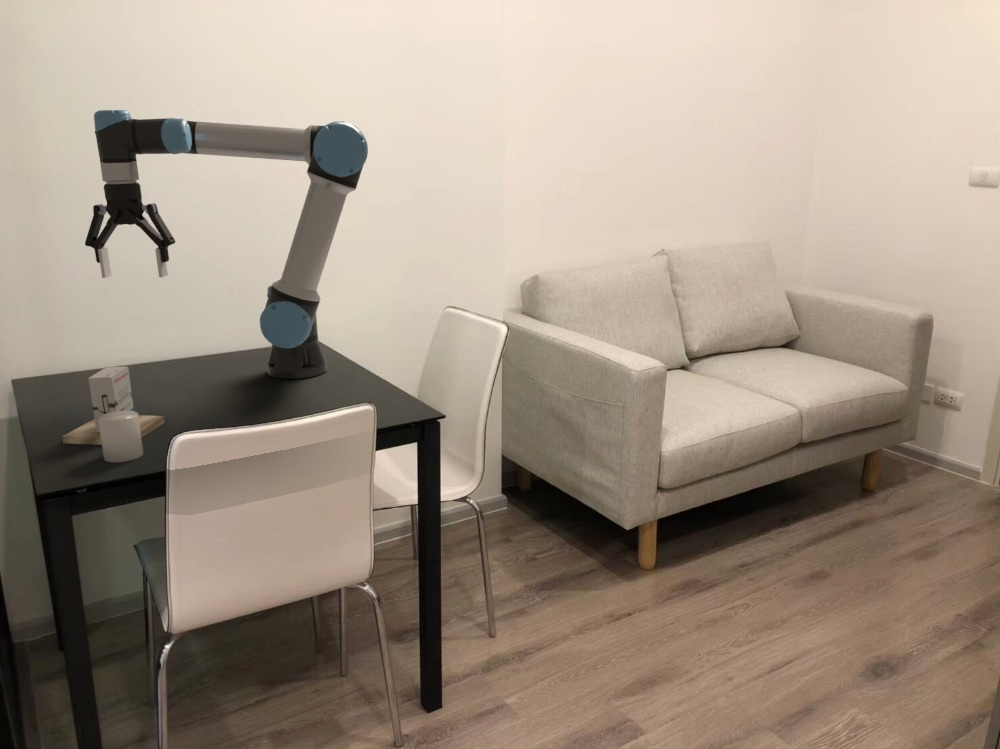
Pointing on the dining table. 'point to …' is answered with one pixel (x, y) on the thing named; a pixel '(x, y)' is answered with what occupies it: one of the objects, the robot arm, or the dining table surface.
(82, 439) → the birch board
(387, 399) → the dining table surface
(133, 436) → the white frosted cylinder
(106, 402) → the ink box
